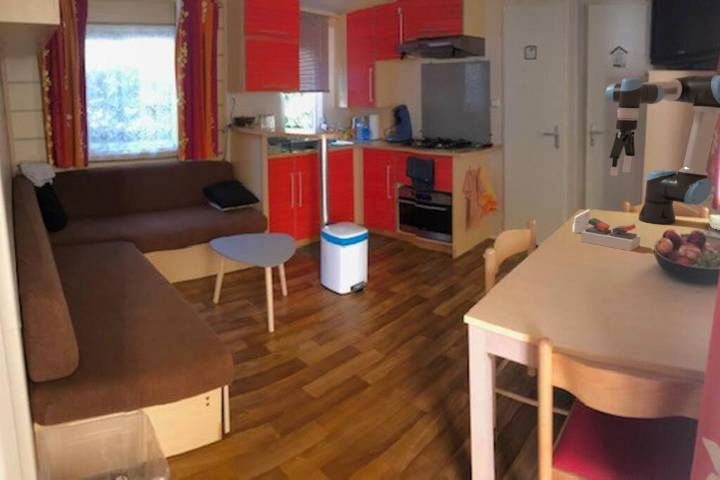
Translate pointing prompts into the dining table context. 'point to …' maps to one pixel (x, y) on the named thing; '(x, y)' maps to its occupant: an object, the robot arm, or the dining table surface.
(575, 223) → the white wedge bracket
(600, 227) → the rocker
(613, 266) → the dining table surface
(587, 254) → the dining table surface
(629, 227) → the rocker
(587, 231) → the power strip
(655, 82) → the robot arm
